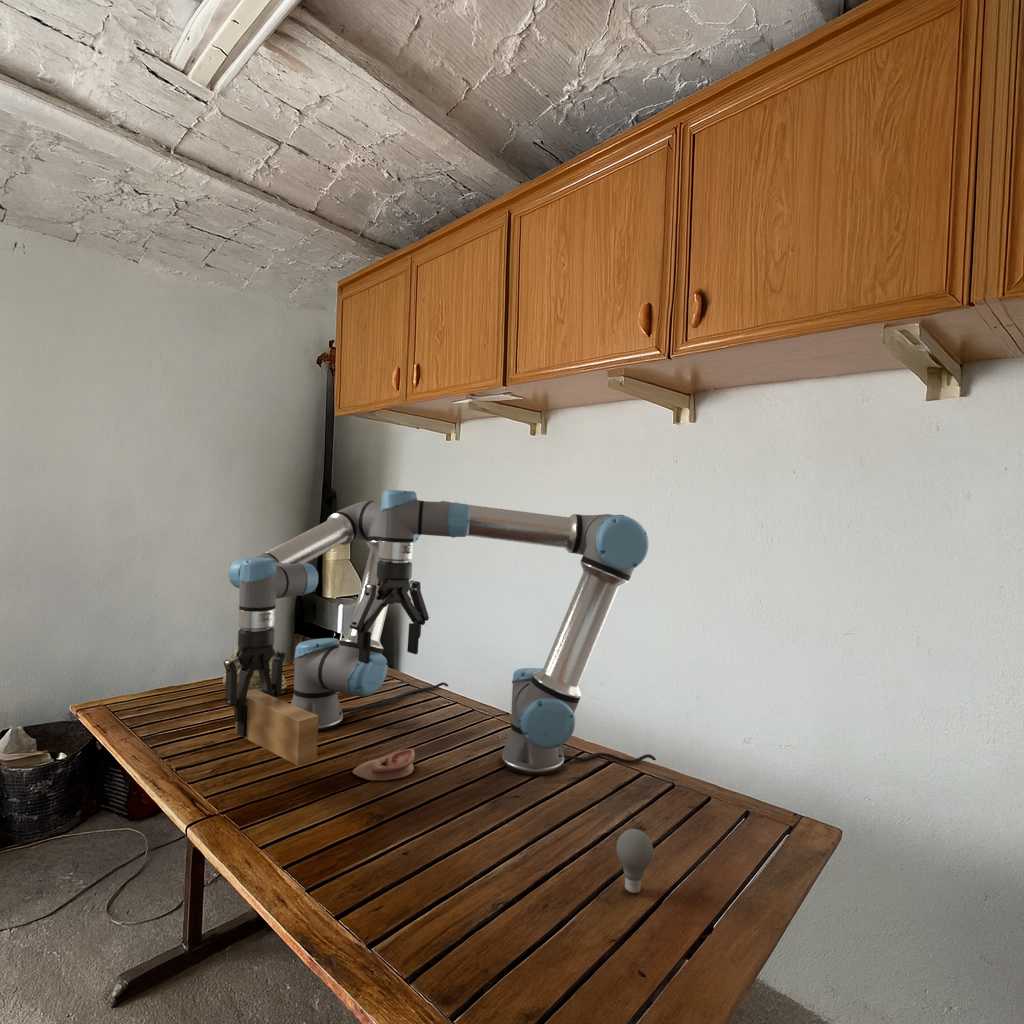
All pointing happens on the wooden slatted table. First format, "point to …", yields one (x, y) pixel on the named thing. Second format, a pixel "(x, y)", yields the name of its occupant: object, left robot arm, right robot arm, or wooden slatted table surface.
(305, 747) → the bar
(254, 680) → the fossil
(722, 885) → the wooden slatted table surface
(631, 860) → the light bulb
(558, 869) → the wooden slatted table surface
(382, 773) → the anatomical model
